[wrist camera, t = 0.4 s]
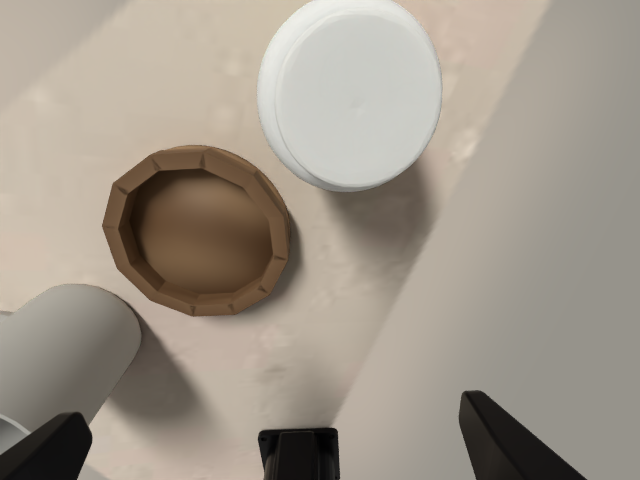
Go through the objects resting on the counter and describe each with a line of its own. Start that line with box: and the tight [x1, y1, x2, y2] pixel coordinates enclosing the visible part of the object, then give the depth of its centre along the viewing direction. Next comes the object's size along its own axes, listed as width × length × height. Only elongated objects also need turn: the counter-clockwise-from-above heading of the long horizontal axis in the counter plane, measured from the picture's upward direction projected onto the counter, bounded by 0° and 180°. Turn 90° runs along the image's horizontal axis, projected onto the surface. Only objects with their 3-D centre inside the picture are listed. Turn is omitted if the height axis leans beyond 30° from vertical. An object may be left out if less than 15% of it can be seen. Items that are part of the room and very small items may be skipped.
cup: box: [0, 284, 141, 455], centre depth 19 cm, size 7×10×9 cm
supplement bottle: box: [257, 0, 442, 192], centre depth 12 cm, size 6×6×10 cm
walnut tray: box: [102, 145, 290, 317], centre depth 19 cm, size 10×10×2 cm
